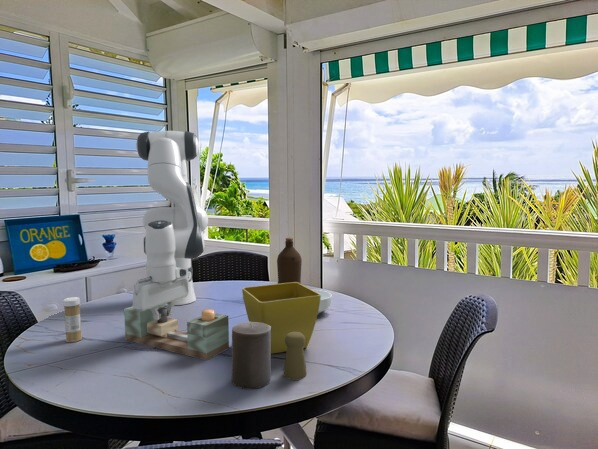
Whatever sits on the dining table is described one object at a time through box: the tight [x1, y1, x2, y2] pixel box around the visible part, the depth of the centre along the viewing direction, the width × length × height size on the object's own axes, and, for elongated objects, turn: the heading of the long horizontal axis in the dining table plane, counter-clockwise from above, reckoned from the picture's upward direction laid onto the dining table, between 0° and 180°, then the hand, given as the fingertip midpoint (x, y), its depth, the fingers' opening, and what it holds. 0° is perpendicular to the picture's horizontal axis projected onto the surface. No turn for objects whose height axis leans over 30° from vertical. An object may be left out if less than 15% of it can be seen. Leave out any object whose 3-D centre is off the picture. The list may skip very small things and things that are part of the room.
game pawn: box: [283, 332, 307, 381], centre depth 113 cm, size 6×6×11 cm
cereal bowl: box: [312, 289, 333, 315], centre depth 166 cm, size 17×17×7 cm
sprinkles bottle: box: [62, 296, 83, 343], centre depth 137 cm, size 5×5×13 cm
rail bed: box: [123, 304, 230, 361], centre depth 134 cm, size 33×10×10 cm, turn 61°
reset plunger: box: [201, 308, 215, 322], centre depth 128 cm, size 4×4×4 cm
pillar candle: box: [231, 321, 272, 390], centre depth 110 cm, size 10×10×15 cm
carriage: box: [147, 306, 179, 338], centre depth 137 cm, size 6×7×8 cm
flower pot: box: [241, 282, 321, 354], centre depth 134 cm, size 19×19×17 cm
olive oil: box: [276, 237, 303, 284], centre depth 190 cm, size 11×11×25 cm
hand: (162, 317), depth 137 cm, fingers closed on carriage, 3 cm apart
